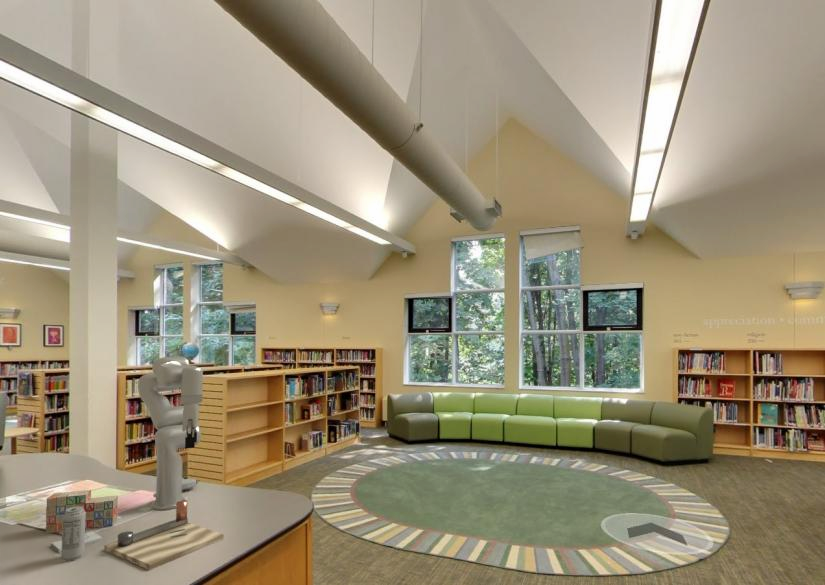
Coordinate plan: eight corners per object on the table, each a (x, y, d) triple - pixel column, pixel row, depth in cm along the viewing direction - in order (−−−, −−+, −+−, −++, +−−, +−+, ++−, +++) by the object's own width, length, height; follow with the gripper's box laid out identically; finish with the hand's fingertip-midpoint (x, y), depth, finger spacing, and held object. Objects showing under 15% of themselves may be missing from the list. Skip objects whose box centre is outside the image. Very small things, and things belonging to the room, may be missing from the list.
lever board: (104, 550, 165) (104, 544, 165) (178, 523, 187) (178, 518, 187) (149, 570, 151) (149, 564, 151) (223, 538, 173) (223, 533, 173)
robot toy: (160, 490, 228) (173, 495, 218) (160, 480, 229) (173, 484, 219) (187, 484, 237) (201, 488, 227) (187, 474, 238) (201, 478, 227)
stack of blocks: (117, 520, 191) (118, 487, 192) (112, 526, 185) (113, 492, 186) (52, 526, 185) (53, 492, 186) (44, 533, 179) (46, 497, 180)
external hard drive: (50, 547, 169) (92, 535, 178) (58, 554, 163) (101, 541, 173) (51, 542, 169) (92, 530, 178) (59, 549, 164) (101, 536, 173)
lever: (122, 547, 163) (122, 523, 163) (114, 544, 165) (115, 520, 166) (189, 522, 183) (190, 501, 184) (182, 520, 185) (182, 499, 186)
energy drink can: (88, 553, 163) (89, 505, 164) (76, 561, 157) (78, 512, 158) (69, 553, 163) (70, 505, 164) (56, 562, 157) (58, 512, 158)
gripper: (183, 397, 201) (182, 441, 199) (178, 403, 184) (177, 451, 183) (203, 396, 203) (203, 440, 202) (200, 401, 187) (200, 449, 185)
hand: (191, 445), depth 192 cm, fingers open, 9 cm apart
